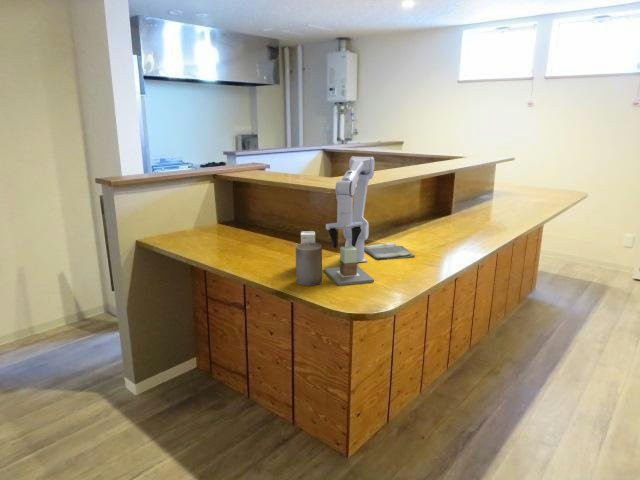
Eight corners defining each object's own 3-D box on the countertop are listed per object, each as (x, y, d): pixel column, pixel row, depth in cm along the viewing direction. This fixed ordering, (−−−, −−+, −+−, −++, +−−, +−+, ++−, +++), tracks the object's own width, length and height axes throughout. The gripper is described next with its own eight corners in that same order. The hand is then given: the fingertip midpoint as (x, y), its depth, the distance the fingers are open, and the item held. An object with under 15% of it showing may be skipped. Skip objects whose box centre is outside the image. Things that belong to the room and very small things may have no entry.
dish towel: (377, 261, 193) (377, 254, 192) (362, 250, 210) (362, 244, 209) (416, 258, 198) (416, 251, 197) (398, 247, 215) (399, 241, 214)
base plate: (323, 270, 180) (323, 267, 179) (357, 267, 183) (357, 265, 183) (337, 285, 163) (337, 282, 163) (374, 282, 166) (374, 279, 166)
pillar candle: (321, 277, 172) (321, 238, 168) (322, 285, 162) (322, 245, 159) (296, 277, 172) (295, 239, 168) (295, 286, 162) (294, 246, 158)
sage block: (340, 259, 173) (340, 247, 172) (352, 258, 174) (352, 246, 173) (344, 263, 168) (344, 250, 167) (356, 262, 170) (357, 249, 169)
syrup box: (314, 264, 187) (314, 230, 183) (315, 269, 181) (315, 234, 177) (301, 264, 187) (300, 230, 183) (300, 269, 181) (300, 234, 177)
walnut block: (339, 272, 174) (340, 259, 173) (352, 270, 176) (352, 258, 174) (344, 276, 170) (344, 263, 168) (356, 274, 171) (357, 262, 170)
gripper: (329, 215, 166) (329, 250, 169) (366, 213, 170) (365, 247, 173) (324, 211, 173) (324, 245, 176) (359, 209, 176) (359, 243, 180)
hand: (344, 246), depth 175 cm, fingers open, 7 cm apart
